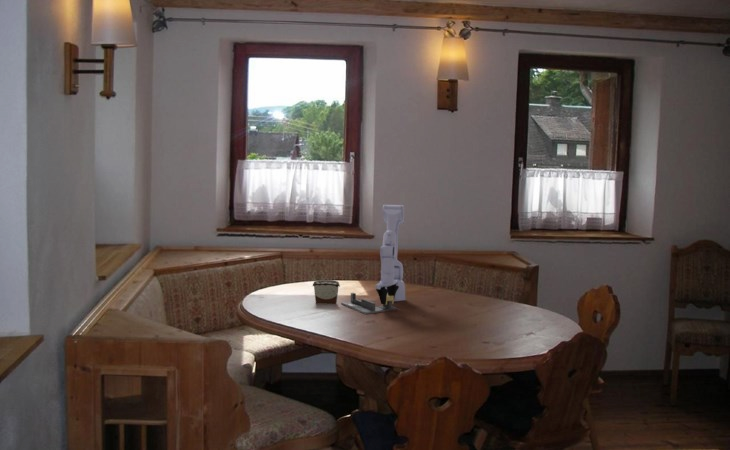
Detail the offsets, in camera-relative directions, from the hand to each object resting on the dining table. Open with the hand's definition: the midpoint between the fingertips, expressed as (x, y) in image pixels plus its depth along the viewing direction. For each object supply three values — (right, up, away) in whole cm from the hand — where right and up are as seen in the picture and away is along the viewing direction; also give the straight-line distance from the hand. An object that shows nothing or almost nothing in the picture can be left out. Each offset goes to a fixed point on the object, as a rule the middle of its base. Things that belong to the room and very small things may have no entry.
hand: (387, 302), depth 340 cm
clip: (0, 0, 0) cm, 0 cm away
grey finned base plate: (0, -3, 0) cm, 3 cm away
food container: (-27, -1, +11) cm, 29 cm away
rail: (-11, -2, +2) cm, 11 cm away
